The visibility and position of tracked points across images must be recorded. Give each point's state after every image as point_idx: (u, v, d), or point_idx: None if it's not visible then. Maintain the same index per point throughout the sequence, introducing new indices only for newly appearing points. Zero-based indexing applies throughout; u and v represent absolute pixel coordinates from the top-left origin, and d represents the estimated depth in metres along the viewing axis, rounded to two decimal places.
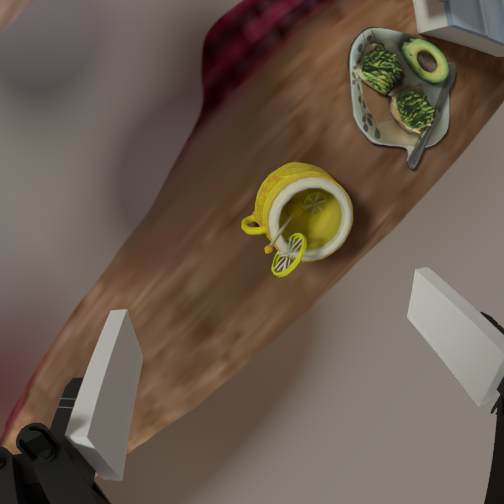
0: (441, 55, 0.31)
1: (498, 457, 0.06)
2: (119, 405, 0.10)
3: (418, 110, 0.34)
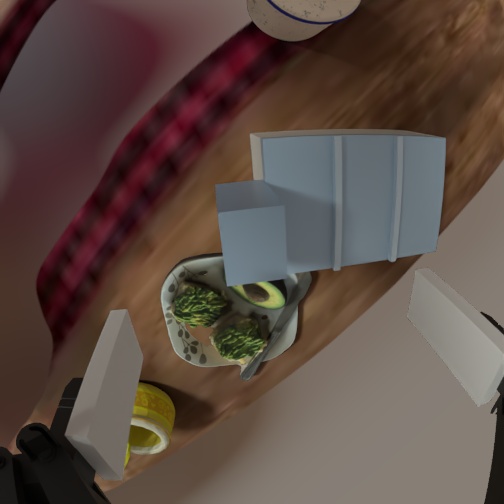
0: (273, 287, 0.34)
1: (498, 457, 0.06)
2: (119, 405, 0.10)
3: (241, 346, 0.38)
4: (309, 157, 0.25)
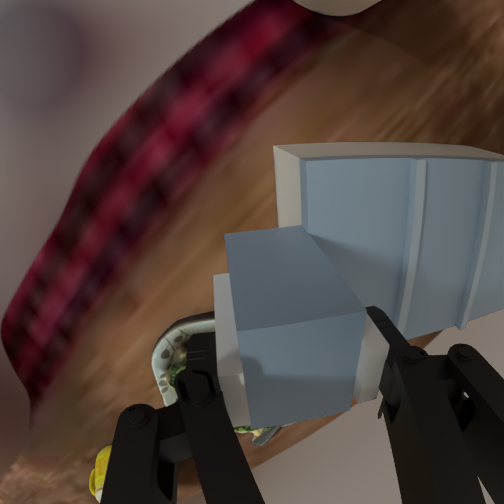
0: None
1: (402, 469, 0.07)
2: None
3: None
4: (377, 192, 0.15)
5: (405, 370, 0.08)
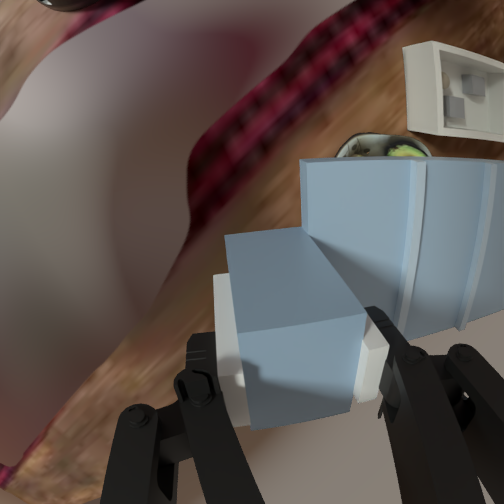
0: None
1: (401, 470, 0.07)
2: None
3: None
4: (377, 194, 0.15)
5: (405, 370, 0.08)
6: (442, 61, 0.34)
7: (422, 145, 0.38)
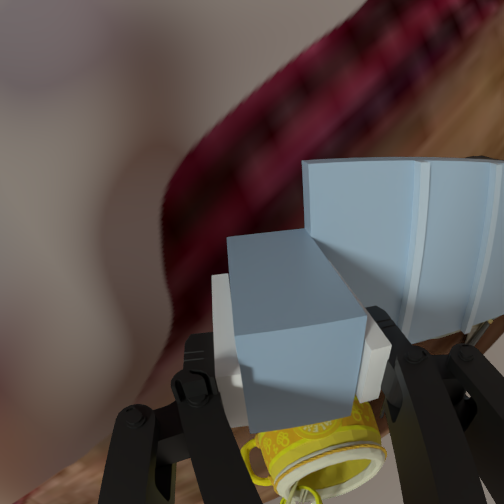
0: None
1: (403, 469, 0.07)
2: None
3: None
4: (380, 195, 0.15)
5: (407, 370, 0.08)
6: None
7: None
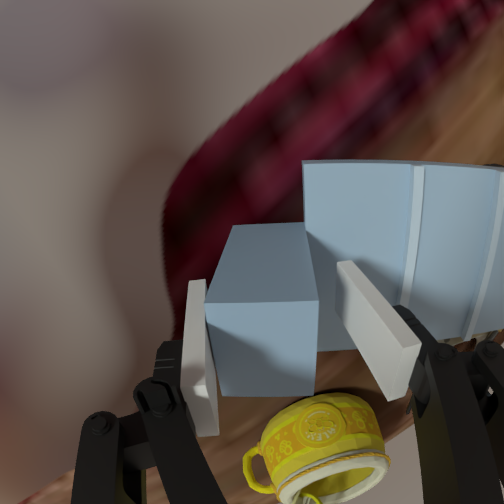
0: None
1: (426, 464, 0.07)
2: (211, 363, 0.12)
3: None
4: (374, 196, 0.16)
5: (436, 366, 0.08)
6: None
7: None
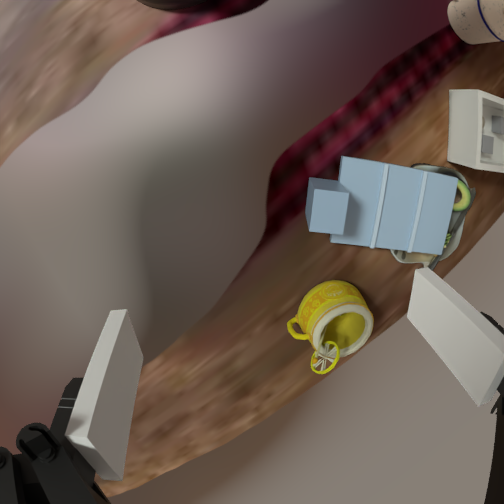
0: (467, 190, 0.42)
1: (498, 457, 0.06)
2: (119, 405, 0.10)
3: None
4: (367, 173, 0.40)
5: None
6: None
7: (462, 176, 0.44)
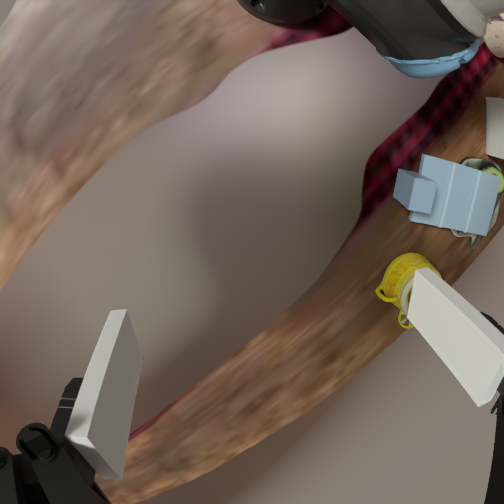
0: (503, 177, 0.48)
1: (498, 457, 0.06)
2: (119, 405, 0.10)
3: None
4: (440, 169, 0.47)
5: None
6: None
7: (498, 166, 0.50)
